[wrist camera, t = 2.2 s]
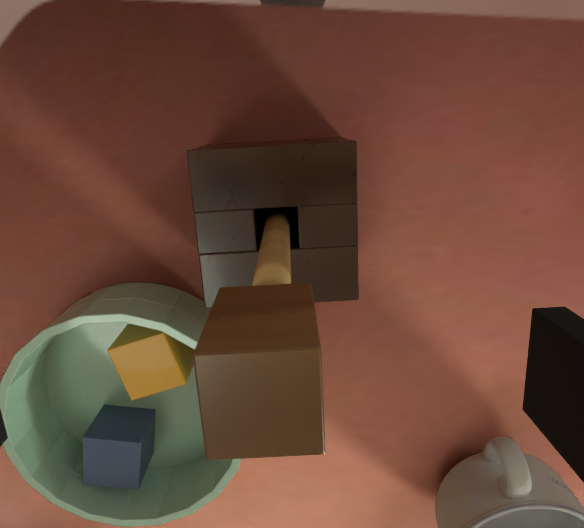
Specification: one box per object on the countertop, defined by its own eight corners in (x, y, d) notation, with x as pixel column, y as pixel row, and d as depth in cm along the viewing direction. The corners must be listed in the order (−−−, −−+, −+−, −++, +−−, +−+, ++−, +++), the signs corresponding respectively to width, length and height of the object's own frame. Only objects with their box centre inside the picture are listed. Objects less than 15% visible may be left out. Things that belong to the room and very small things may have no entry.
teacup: (540, 532, 41) (598, 625, 34) (417, 535, 41) (447, 630, 34) (562, 393, 37) (633, 463, 30) (426, 397, 37) (462, 468, 30)
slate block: (103, 404, 36) (82, 437, 32) (155, 409, 36) (140, 442, 33) (103, 447, 37) (82, 484, 34) (154, 452, 38) (138, 489, 34)
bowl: (21, 288, 34) (-32, 321, 28) (243, 276, 34) (234, 307, 28) (64, 471, 39) (26, 532, 33) (259, 461, 39) (255, 520, 33)
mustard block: (126, 324, 34) (106, 350, 30) (177, 308, 34) (163, 332, 30) (147, 371, 35) (131, 401, 32) (197, 356, 35) (186, 384, 31)
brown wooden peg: (258, 189, 32) (191, 353, 9) (296, 187, 32) (320, 346, 9) (261, 226, 33) (205, 462, 10) (298, 224, 33) (325, 455, 10)
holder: (207, 144, 31) (186, 150, 25) (341, 137, 31) (356, 140, 25) (220, 272, 34) (204, 308, 27) (344, 265, 34) (358, 300, 27)
